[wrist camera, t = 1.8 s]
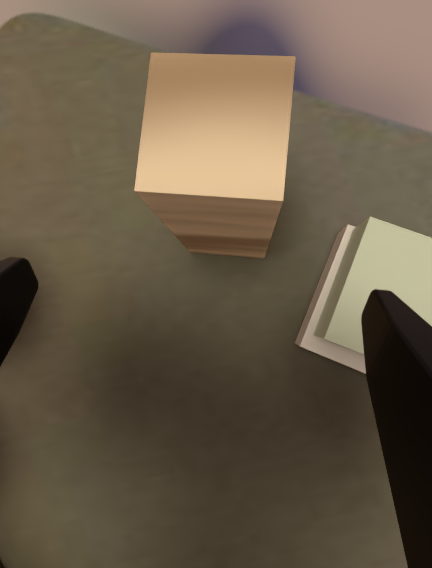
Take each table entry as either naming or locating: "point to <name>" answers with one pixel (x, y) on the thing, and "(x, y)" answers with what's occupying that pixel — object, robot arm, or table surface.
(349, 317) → the tower top
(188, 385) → the table surface
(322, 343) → the tower bottom
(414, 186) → the table surface
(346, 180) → the table surface
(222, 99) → the pillar
